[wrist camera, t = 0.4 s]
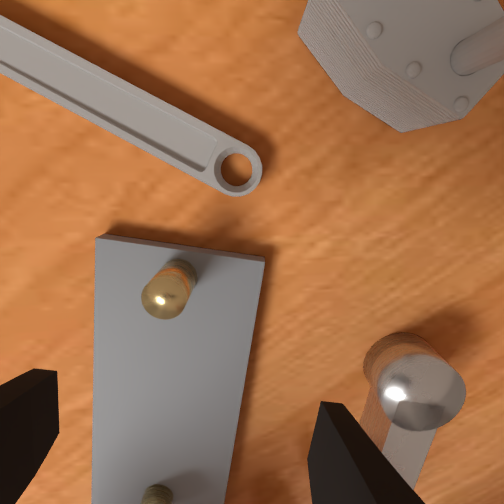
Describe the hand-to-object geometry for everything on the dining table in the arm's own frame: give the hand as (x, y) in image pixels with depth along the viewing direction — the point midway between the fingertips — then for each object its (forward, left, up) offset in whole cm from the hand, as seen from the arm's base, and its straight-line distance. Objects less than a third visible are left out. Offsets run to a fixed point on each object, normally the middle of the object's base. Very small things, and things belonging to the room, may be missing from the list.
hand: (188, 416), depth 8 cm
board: (-7, +2, -10) cm, 13 cm away
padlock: (+13, -6, -10) cm, 17 cm away
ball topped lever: (-7, -12, -10) cm, 17 cm away
